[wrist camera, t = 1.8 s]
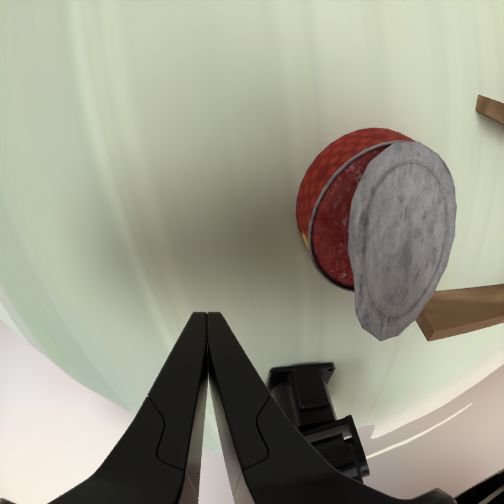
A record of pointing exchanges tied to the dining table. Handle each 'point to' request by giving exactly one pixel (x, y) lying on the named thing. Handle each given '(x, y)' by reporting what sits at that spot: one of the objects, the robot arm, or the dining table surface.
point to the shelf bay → (470, 299)
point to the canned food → (379, 224)
